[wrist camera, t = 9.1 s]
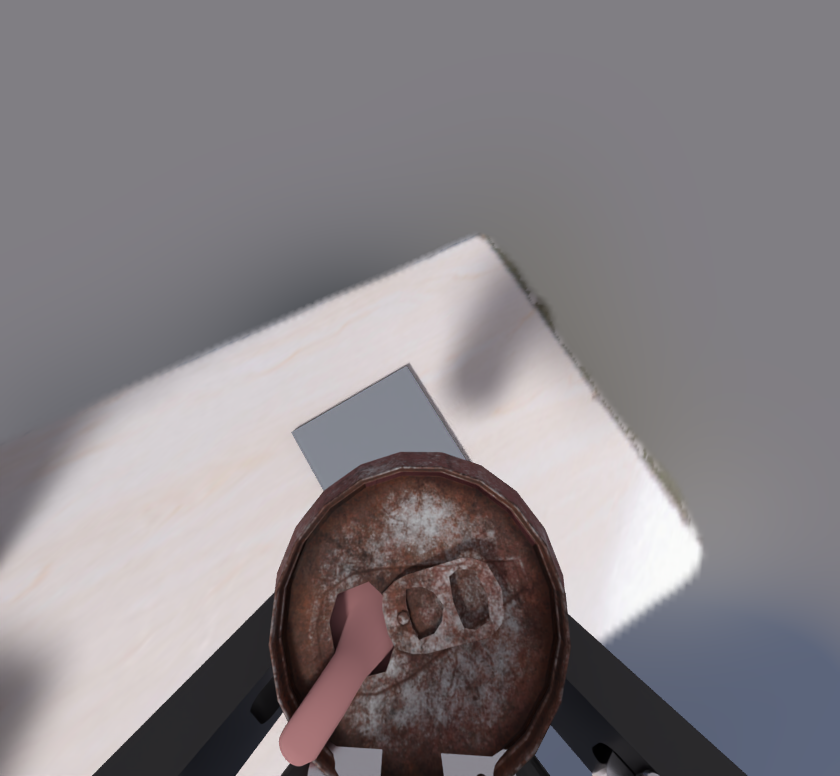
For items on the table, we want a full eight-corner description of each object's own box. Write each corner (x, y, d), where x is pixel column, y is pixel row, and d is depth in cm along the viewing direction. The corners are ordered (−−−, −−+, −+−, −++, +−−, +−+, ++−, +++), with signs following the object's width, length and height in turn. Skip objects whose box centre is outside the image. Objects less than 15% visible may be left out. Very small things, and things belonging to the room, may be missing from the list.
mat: (387, 604, 29) (387, 606, 28) (292, 432, 31) (291, 432, 31) (503, 520, 31) (505, 521, 31) (406, 366, 33) (406, 365, 33)
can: (344, 533, 19) (159, 675, 5) (410, 447, 20) (393, 389, 7) (426, 605, 18) (447, 993, 4) (489, 509, 19) (653, 585, 6)
